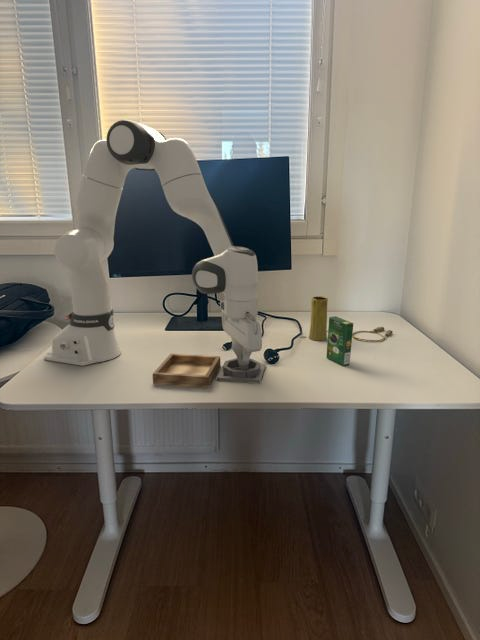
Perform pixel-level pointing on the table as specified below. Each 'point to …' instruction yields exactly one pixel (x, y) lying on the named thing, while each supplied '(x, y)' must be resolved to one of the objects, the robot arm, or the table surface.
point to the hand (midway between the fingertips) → (241, 356)
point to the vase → (318, 319)
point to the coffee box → (339, 340)
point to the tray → (187, 370)
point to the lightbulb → (239, 355)
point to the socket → (241, 372)
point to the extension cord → (374, 332)
